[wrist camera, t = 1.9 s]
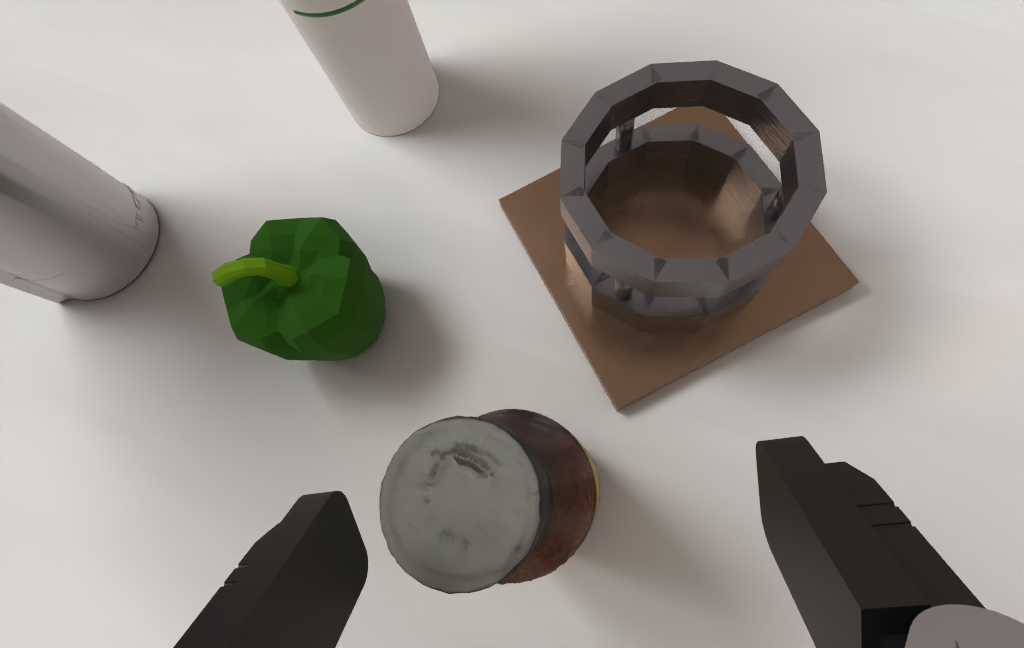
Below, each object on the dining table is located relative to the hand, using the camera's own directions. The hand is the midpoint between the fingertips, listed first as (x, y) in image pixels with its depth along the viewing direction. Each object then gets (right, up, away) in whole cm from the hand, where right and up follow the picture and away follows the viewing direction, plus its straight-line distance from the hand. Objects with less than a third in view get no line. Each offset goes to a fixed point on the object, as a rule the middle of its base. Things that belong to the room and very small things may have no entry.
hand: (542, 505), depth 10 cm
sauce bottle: (+1, -6, +21) cm, 22 cm away
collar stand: (+9, +9, +24) cm, 28 cm away
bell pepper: (-12, +4, +26) cm, 29 cm away
